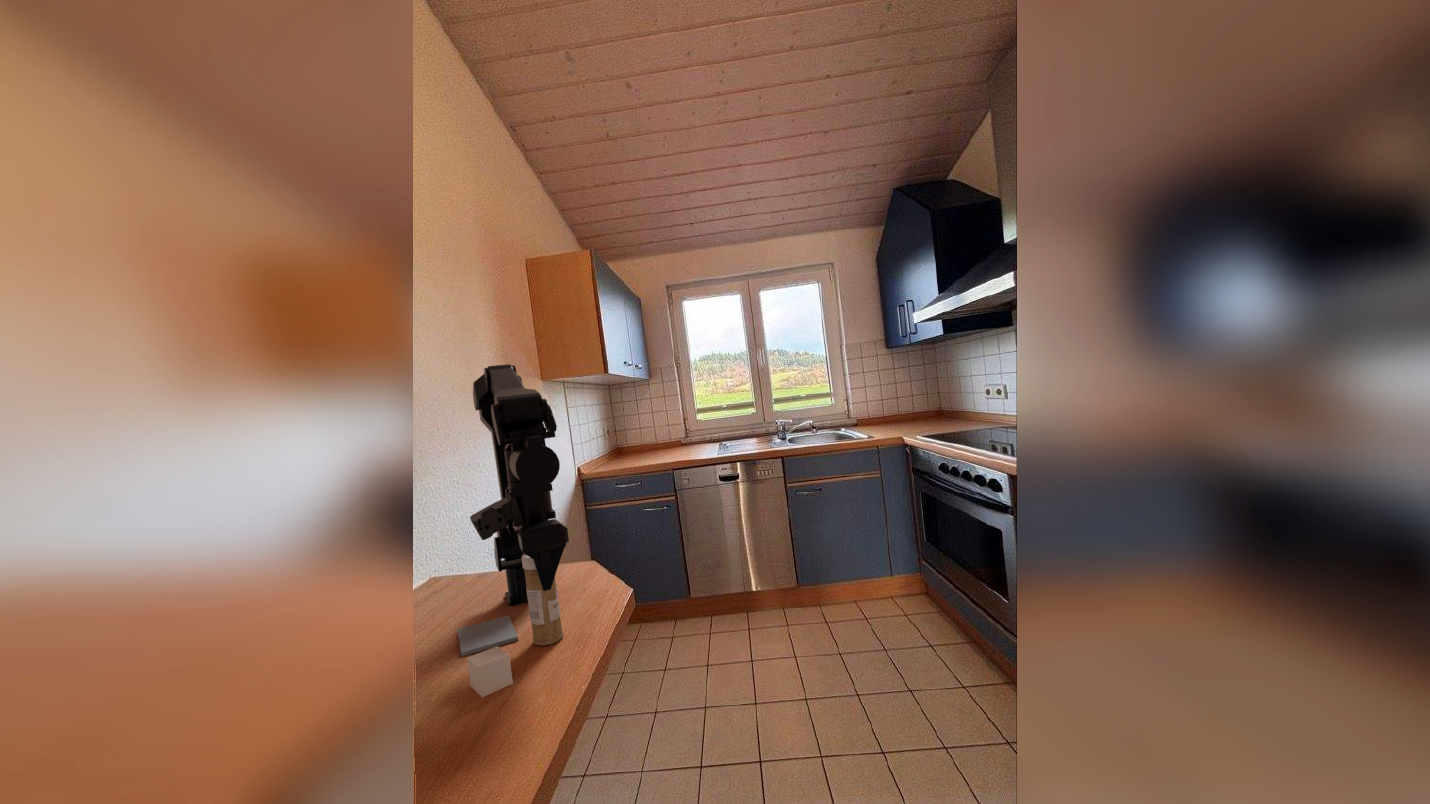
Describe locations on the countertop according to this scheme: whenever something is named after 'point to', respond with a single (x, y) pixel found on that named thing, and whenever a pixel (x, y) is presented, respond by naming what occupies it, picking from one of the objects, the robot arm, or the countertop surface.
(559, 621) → the sprinkles bottle
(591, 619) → the countertop surface
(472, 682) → the light grey block
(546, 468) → the robot arm
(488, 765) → the countertop surface
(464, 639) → the grey mat
